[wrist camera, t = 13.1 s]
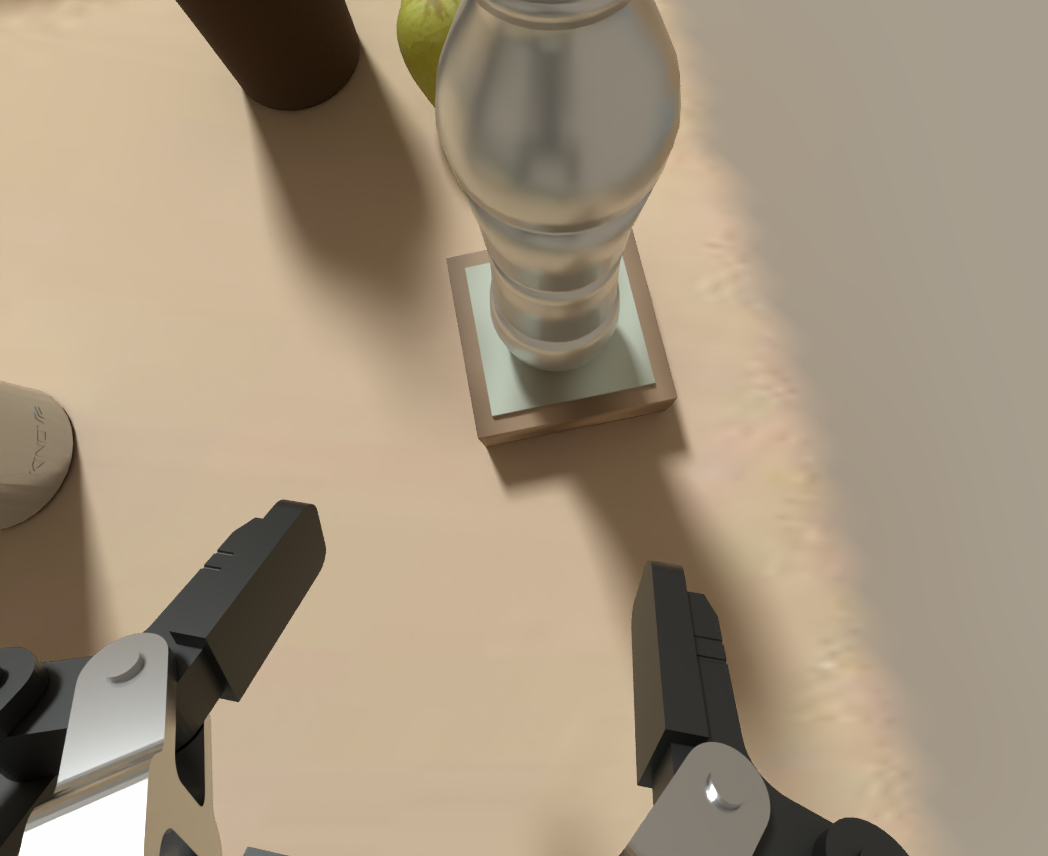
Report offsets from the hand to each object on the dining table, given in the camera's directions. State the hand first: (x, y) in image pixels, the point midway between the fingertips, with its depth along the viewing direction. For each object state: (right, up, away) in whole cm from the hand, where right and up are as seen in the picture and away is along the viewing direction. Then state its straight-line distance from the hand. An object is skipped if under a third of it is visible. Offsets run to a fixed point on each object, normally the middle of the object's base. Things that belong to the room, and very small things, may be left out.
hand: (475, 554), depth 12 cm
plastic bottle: (+3, +9, +16) cm, 18 cm away
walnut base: (+3, +8, +19) cm, 21 cm away
